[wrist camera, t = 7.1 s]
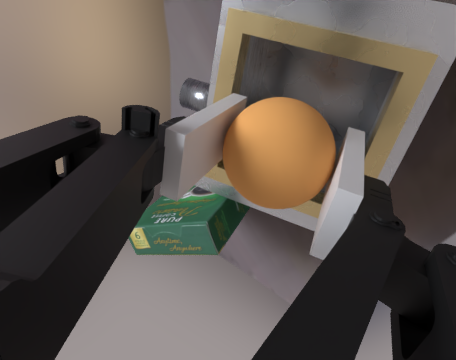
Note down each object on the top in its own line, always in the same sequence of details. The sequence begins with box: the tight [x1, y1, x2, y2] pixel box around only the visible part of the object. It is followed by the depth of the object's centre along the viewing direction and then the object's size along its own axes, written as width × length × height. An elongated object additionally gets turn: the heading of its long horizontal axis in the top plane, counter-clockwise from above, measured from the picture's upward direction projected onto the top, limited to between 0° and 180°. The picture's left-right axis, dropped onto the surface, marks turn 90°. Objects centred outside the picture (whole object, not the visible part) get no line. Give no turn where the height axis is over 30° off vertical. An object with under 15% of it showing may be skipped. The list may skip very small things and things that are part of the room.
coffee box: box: [129, 185, 250, 255], centre depth 28 cm, size 8×3×13 cm, turn 108°
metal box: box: [180, 0, 456, 231], centre depth 23 cm, size 14×16×12 cm
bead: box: [223, 97, 336, 209], centre depth 14 cm, size 5×5×5 cm
